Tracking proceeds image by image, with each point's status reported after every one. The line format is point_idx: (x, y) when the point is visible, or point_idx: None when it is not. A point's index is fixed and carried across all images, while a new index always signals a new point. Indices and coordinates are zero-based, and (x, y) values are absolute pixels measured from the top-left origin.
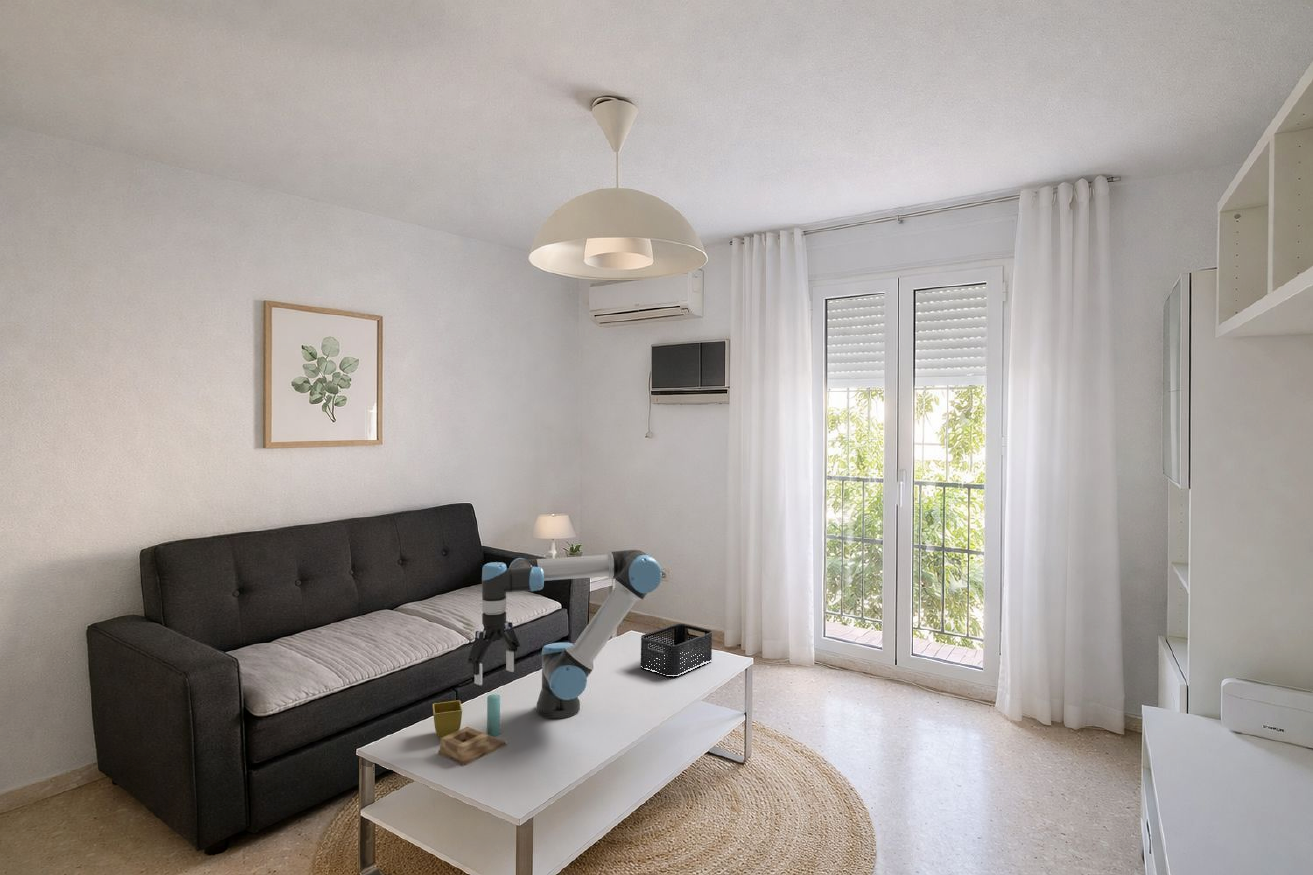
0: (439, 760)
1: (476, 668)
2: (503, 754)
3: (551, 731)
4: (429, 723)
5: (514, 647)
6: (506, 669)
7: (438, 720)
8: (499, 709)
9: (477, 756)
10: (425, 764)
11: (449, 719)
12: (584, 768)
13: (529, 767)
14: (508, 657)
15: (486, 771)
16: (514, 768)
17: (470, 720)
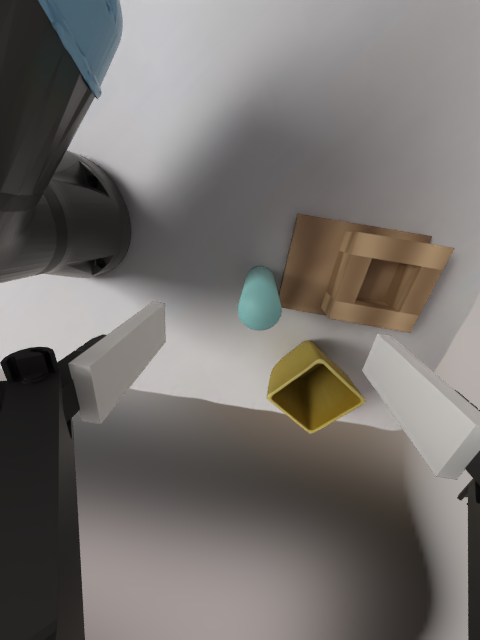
0: None
1: None
2: (345, 182)
3: (179, 147)
4: (277, 409)
5: (20, 388)
6: (163, 342)
7: (351, 383)
8: (255, 279)
9: (389, 229)
10: (438, 315)
11: (335, 367)
12: None
13: (398, 38)
14: (126, 369)
15: (447, 157)
16: (414, 86)
17: (232, 358)
